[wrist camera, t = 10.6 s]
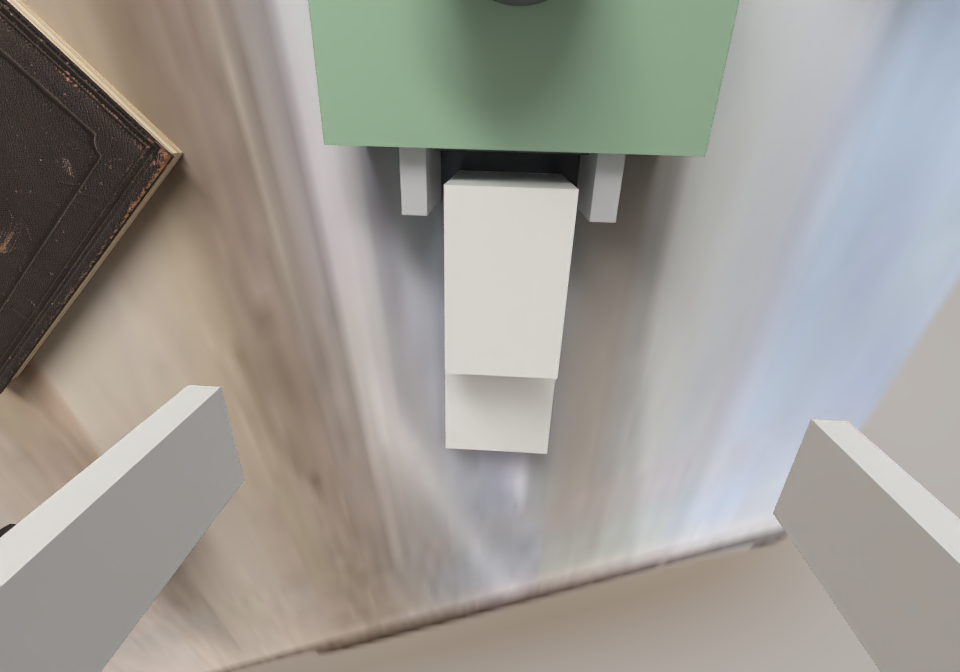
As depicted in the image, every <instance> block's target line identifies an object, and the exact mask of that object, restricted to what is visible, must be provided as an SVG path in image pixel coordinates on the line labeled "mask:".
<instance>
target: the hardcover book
mask: <svg viewBox="0 0 960 672" xmlns="http://www.w3.org/2000/svg"><path fill="white" fill-rule="evenodd" d="M182 154H183V152H182V151H181V150H180V149H179V148H178V147H177V146H176V145H175V144H174V143H173V142H172V141H171V140H169V139H168V138H167V137H166V136H165V135H164V134H163V133H162V132H161V131H160V130H159V129H158V128H157V127H156V126H155V125H153V124H152V123H151V122H150V121H149V120H148V119H147V118H146V117H145V116H144V115H143V114H142V113H141V112H140V111H139V110H138V109H136V108H135V107H134V106H133V105H132V104H131V103H130V102H129V101H128V100H127V99H126V98H125V97H124V96H123V95H122V94H121V93H119V92H118V91H117V90H116V89H115V88H114V87H113V86H112V85H111V84H110V83H109V82H108V81H107V80H106V79H105V78H103V77H102V76H101V75H100V74H99V73H98V72H97V71H96V70H95V69H94V68H93V67H92V66H91V65H90V64H89V63H88V62H86V61H85V60H84V59H83V58H82V57H81V56H80V55H79V54H78V53H77V52H76V51H75V50H74V49H73V48H72V47H71V46H69V45H68V44H67V43H66V42H65V41H64V40H63V39H62V38H61V37H60V36H59V35H58V34H57V33H56V32H55V31H53V30H52V29H51V28H50V27H49V26H48V25H47V24H46V23H45V22H44V21H43V20H42V19H41V18H40V17H39V16H38V15H36V14H35V13H34V12H33V11H32V10H31V9H30V8H29V7H28V6H27V5H26V4H25V3H24V2H23V1H22V0H0V394H1V393H2V392H3V391H4V389H5V388H6V387H7V385H8V384H9V382H10V381H12V380H13V379H15V378H16V377H18V376H19V375H20V374H21V372H22V371H23V370H24V368H25V367H26V366H27V364H28V363H29V362H30V360H31V359H32V357H33V356H34V355H35V353H36V352H37V351H38V349H39V348H40V347H41V345H42V344H43V343H44V341H45V340H46V338H47V337H48V336H49V334H50V333H51V332H52V330H53V329H54V328H55V326H56V325H57V324H58V322H59V321H60V320H61V318H62V317H63V315H64V314H65V313H66V311H67V310H68V309H69V307H70V306H71V305H72V303H73V302H74V301H75V299H76V298H77V296H78V295H79V294H80V292H81V291H82V290H83V288H84V287H85V286H86V284H87V283H88V282H89V280H90V279H91V277H92V276H93V275H94V273H95V272H96V271H97V269H98V268H99V267H100V265H101V264H102V263H103V261H104V260H105V259H106V257H107V256H108V254H109V253H110V252H111V250H112V249H113V248H114V246H115V245H116V244H117V242H118V241H119V240H120V238H121V237H122V235H123V234H124V233H125V231H126V230H127V229H128V227H129V226H130V225H131V223H132V222H133V221H134V219H135V218H136V216H137V215H138V214H139V212H140V211H141V210H142V208H143V207H144V206H145V204H146V203H147V202H148V200H149V199H150V198H151V196H152V195H153V193H154V192H155V191H156V189H157V188H158V187H159V185H160V184H161V183H162V181H163V180H164V179H165V177H166V176H167V174H168V173H169V172H170V170H171V169H172V168H173V166H174V165H175V164H176V162H177V161H178V160H179V158H180V157H181V155H182Z"/></svg>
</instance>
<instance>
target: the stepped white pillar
mask: <svg viewBox="0 0 960 672" xmlns="http://www.w3.org/2000/svg"><path fill="white" fill-rule="evenodd" d="M578 194H579V189H578V188H577V187H575V186H574V185H573V184H572V183H571V182H570V181H569V180H567V179H566V178H565V177H564V176H563V175H562V174H551V173H521V172H492V171H462V170H460V171H459V172H457V173H456V174H455V175H454V176H453V177H452V178H451V179H450V180H449V181H447V182H446V183H445V184H444V298H445V420H446V448H453V449H471V450H488V451H506V452H523V453H541V454H547V449H548V440H549V431H550V422H551V413H552V404H553V395H554V386H555V379H557V378H558V369H559V360H560V352H561V343H562V334H563V325H564V316H565V308H566V299H567V290H568V281H569V273H570V264H571V255H572V246H573V238H574V229H575V220H576V211H577V202H578Z"/></svg>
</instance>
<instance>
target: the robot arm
mask: <svg viewBox="0 0 960 672" xmlns="http://www.w3.org/2000/svg"><path fill="white" fill-rule="evenodd" d="M243 481H244V477H243V473H242V469H241V465H240V461H239V457H238V453H237V449H236V445H235V441H234V437H233V433H232V429H231V425H230V421H229V417H228V413H227V410H226V406H225V402H224V398H223V394H222V390H221V387H213V386H194V385H188V386H187V387H185V388H184V389H183V390H182V391H180V392H179V393H178V394H177V395H176V396H174V397H173V398H172V399H171V400H169V401H168V402H167V403H166V404H164V405H163V406H162V407H161V408H159V409H158V410H157V411H156V412H155V413H153V414H152V415H151V416H150V417H148V418H147V419H146V420H145V421H143V422H142V423H141V424H140V425H139V426H137V427H136V428H135V429H134V430H132V431H131V432H130V433H129V434H127V435H126V436H125V437H124V438H122V439H121V440H120V441H119V442H118V443H116V444H115V445H114V446H113V447H111V448H110V449H109V450H108V451H106V452H105V453H104V454H103V455H102V456H100V457H99V458H98V459H97V460H95V461H94V462H93V463H92V464H90V465H89V466H88V467H87V468H85V469H84V470H83V471H82V472H81V473H79V474H78V475H77V476H76V477H74V478H73V479H72V480H71V481H69V482H68V483H67V484H66V485H65V486H63V487H62V488H61V489H60V490H58V491H57V492H56V493H55V494H53V495H52V496H51V497H50V498H48V499H47V500H46V501H45V502H44V503H42V504H41V505H40V506H39V507H37V508H36V509H35V510H34V511H32V512H31V513H30V514H29V515H28V516H26V517H25V518H24V519H23V520H21V521H20V522H19V523H18V524H9V525H7V526H6V527H4V528H2V529H0V672H101V671H102V670H103V668H104V667H105V666H106V664H107V663H108V662H109V660H110V659H111V658H112V656H113V655H114V654H115V652H116V651H117V650H118V648H119V647H120V646H121V644H122V643H123V642H124V640H125V639H126V638H127V636H128V635H129V634H130V632H131V631H132V630H133V628H134V627H135V626H136V624H137V623H138V622H139V620H140V619H141V617H142V616H143V615H144V613H145V612H146V611H147V609H148V608H149V607H150V605H151V604H152V603H153V601H154V600H155V599H156V597H157V596H158V595H159V593H160V592H161V591H162V589H163V588H164V587H165V585H166V584H167V583H168V581H169V580H170V579H171V577H172V576H173V575H174V573H175V572H176V571H177V569H178V568H179V567H180V565H181V564H182V563H183V561H184V560H185V559H186V557H187V556H188V555H189V553H190V552H191V551H192V549H193V548H194V547H195V545H196V544H197V542H198V541H199V540H200V538H201V537H202V536H203V534H204V533H205V532H206V530H207V529H208V528H209V526H210V525H211V524H212V522H213V521H214V520H215V518H216V517H217V516H218V514H219V513H220V512H221V510H222V509H223V508H224V506H225V505H226V504H227V502H228V501H229V500H230V498H231V497H232V496H233V494H234V493H235V492H236V490H237V489H238V488H239V486H240V485H241V484H242V482H243ZM773 514H774V515H775V517H776V518H777V520H778V521H779V523H780V524H781V526H782V527H783V529H784V530H785V532H786V533H787V535H788V536H789V538H790V539H791V540H792V542H793V543H794V545H795V546H796V548H797V549H798V551H799V552H800V554H801V555H802V556H803V558H804V559H805V561H806V563H807V564H808V565H809V567H810V568H811V570H812V571H813V573H814V574H815V576H816V577H817V579H818V580H819V581H820V583H821V585H822V586H823V588H824V589H825V591H826V592H827V593H828V595H829V596H830V598H831V599H832V601H833V602H834V604H835V605H836V607H837V608H838V610H839V611H840V613H841V614H842V615H843V617H844V619H845V620H846V621H847V623H848V624H849V626H850V627H851V629H852V630H853V632H854V633H855V635H856V636H857V638H858V639H859V640H860V642H861V644H862V645H863V646H864V648H865V649H866V651H867V652H868V654H869V655H870V657H871V658H872V660H873V661H874V663H875V664H876V666H877V667H878V669H879V670H880V671H881V672H960V519H959V518H958V517H957V516H956V515H955V514H953V513H952V512H951V511H950V510H949V509H948V508H947V507H945V506H944V505H943V504H942V503H941V502H940V501H938V500H937V499H936V498H935V497H934V496H933V495H932V494H931V493H929V492H928V491H927V490H926V489H925V488H924V487H923V486H921V485H920V484H919V483H918V482H917V481H916V480H915V479H913V478H912V477H911V476H910V475H909V474H908V473H907V472H905V471H904V470H903V469H902V468H901V467H900V466H899V465H897V464H896V463H895V462H894V461H893V460H892V459H891V458H889V457H888V456H887V455H886V454H885V453H884V452H883V451H881V450H880V449H879V448H878V447H877V446H876V445H875V444H873V443H872V442H871V441H870V440H869V439H868V438H867V437H865V436H864V435H863V434H862V433H861V432H860V431H859V430H857V429H856V428H855V427H854V426H853V425H852V424H851V423H849V422H848V421H838V420H820V419H811V421H810V423H809V426H808V428H807V431H806V433H805V436H804V438H803V441H802V443H801V445H800V448H799V450H798V453H797V455H796V458H795V460H794V463H793V465H792V468H791V470H790V473H789V475H788V477H787V480H786V482H785V485H784V487H783V490H782V492H781V495H780V497H779V500H778V502H777V505H776V507H775V509H774V512H773Z"/></svg>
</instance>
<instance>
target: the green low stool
mask: <svg viewBox="0 0 960 672" xmlns="http://www.w3.org/2000/svg"><path fill="white" fill-rule="evenodd" d="M308 2H309V11H310V20H311V29H312V38H313V48H314V57H315V66H316V75H317V84H318V93H319V102H320V112H321V121H322V130H323V139H324V145H347V146H379V147H399V162H400V183H401V205H402V215H421V216H427V215H428V214H429V213H430V212H431V211H432V210H433V209H434V208H435V207H436V205H437V204H438V203H439V202H440V201H441V150H447V151H479V152H512V153H544V154H577V155H580V164H579V173H578V182H577V188H578V189H579V194H578V202H577V208H578V209H579V210H580V211H581V212H582V214H583V215H584V216H585V217H586V218H587V219H588V221H589V222H612V223H616V216H617V210H618V203H619V196H620V190H621V183H622V176H623V170H624V163H625V156H626V154H640V155H673V156H705V155H706V150H707V145H708V141H709V136H710V132H711V127H712V123H713V118H714V113H715V109H716V104H717V100H718V95H719V91H720V86H721V81H722V77H723V72H724V68H725V63H726V59H727V54H728V49H729V45H730V40H731V36H732V31H733V27H734V22H735V17H736V13H737V8H738V4H739V0H308Z"/></svg>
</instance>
